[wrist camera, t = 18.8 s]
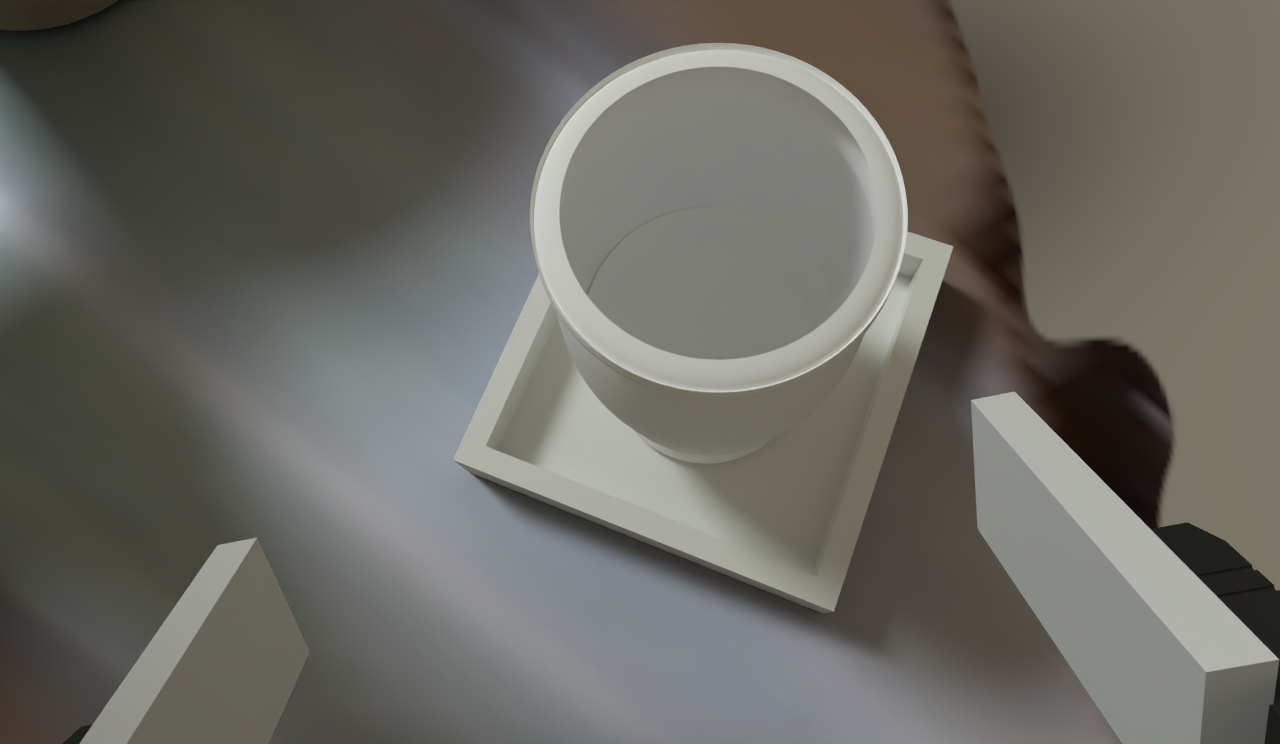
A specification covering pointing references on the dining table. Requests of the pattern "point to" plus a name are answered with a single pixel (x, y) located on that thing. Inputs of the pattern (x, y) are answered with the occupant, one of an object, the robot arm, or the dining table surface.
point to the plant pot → (46, 13)
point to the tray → (719, 492)
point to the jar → (716, 242)
